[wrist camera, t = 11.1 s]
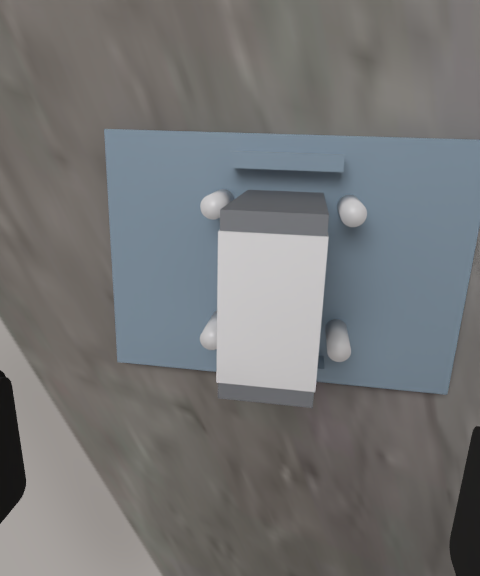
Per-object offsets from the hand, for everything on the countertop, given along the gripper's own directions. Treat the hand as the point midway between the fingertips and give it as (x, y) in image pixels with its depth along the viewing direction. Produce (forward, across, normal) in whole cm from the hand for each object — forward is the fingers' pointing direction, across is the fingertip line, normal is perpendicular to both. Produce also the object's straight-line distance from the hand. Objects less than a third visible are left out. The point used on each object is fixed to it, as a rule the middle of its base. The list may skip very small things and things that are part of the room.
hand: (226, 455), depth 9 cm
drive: (+17, 0, 0) cm, 17 cm away
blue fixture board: (+18, 0, +1) cm, 18 cm away
